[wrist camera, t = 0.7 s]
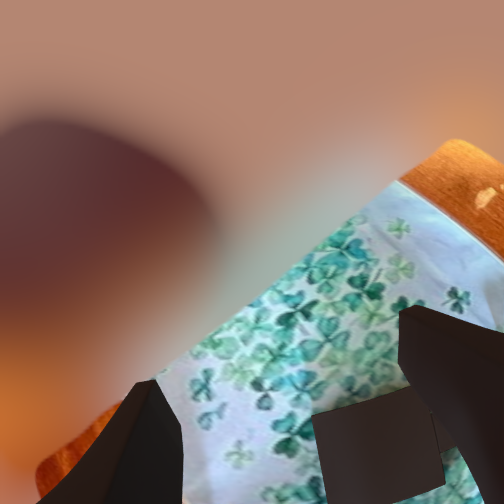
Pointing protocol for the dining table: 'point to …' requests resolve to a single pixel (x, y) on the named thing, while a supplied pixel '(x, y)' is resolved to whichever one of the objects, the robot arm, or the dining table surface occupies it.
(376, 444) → the tab pad
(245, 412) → the dining table surface
